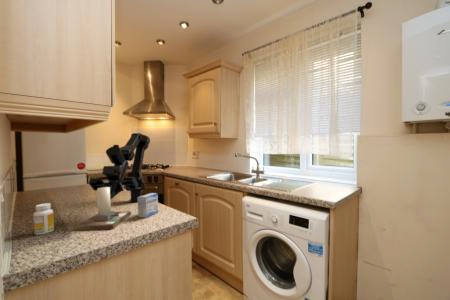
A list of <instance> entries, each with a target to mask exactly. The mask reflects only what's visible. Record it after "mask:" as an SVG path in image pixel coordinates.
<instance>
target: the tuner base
mask: <svg viewBox="0 0 450 300" xmlns="http://www.w3.org/2000/svg"><path fill="white" fill-rule="evenodd" d="M131 213H132V212H131V211H130V210H128V211H125V210H124V211H114V215H119V216H114V217H112V218H111V219H109V220H108V221H95V219H94V216H95V215H97V214H98V213H97V214H95V215H93V216H91V217H90V218H88V219H86V220H85V221H83V222H81V223H79V224H77V225H75V231H97V230H98V231H99V230H102V231H103V230H113V229H115V228H116V227H117V226H118V225H120V224H121V223H122V222H124V221H125V220H126V219H127V218H129V217H130V216H132V214H131Z"/></svg>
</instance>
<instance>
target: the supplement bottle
mask: <svg viewBox="0 0 450 300" xmlns="http://www.w3.org/2000/svg"><path fill="white" fill-rule="evenodd" d="M51 206H52V205H51V203H50V202H45V203H41V204H37V205H35V210H36V211H35V212H33V229H34V230H33V232H34V235H46V234H48V233H51V232H53V231H54V229H55V222H54V221H55V218H54V210H53V209H51Z"/></svg>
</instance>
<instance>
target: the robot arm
mask: <svg viewBox="0 0 450 300" xmlns="http://www.w3.org/2000/svg"><path fill="white" fill-rule="evenodd" d="M130 135H131V136H130V138H129V139H128V140H127V142H126V143H125V145H123V146H121V147H120V146H119V144H113V145H112V146H110V147H108V148H107V149H106V150H105V154H106V156H107V158H108V160H109V161H110V163H111V164H113V165H107V166H106V165H104V166H103V167H102V168H103V169H102V172H101V173H102V175H104V176H105V179H103V180H102V178H101V177H93V178H92V177H91V178H90V179H89V180H88V185H89V187H91V189H92V190H93V191H96V192H97V188H101V187H110V201H111V200H113V198H114V197H116V196H117V195H119V194H120V193H121V192H124V187H125V190H126V191H127V192H128V191H129V193H130V199H129V202H130V203H138V199H137V197H140V196H143V192H142V191H143V190H146V182H145V181H144V177H143V175H142V169H143V163H144V162H143V161H144V158H145V157H144V156H145V151H146V150H147V149H148V148H149V145H150V143H151V139H150V137H149V136H148V135H145V134H143V133H140V132H136V133H135V132H134V133H131V134H130ZM130 161H131V162H132V167H131V171H129V172H127V170H129V169H130V164H129V162H130ZM126 173H127V174H126Z"/></svg>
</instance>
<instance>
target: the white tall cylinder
mask: <svg viewBox="0 0 450 300" xmlns="http://www.w3.org/2000/svg"><path fill="white" fill-rule="evenodd" d="M96 195H97V197H96V198H97V215H96V214H94V215H93V216H94V219H95V221H108V220H109V219H111V218H112V217H114V216H119V215H114V212H115V211H114V210H113V211H112V208H111V206H112V205H111V204H112V203H111V200H110V187H101V188H97V191H96Z"/></svg>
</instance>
